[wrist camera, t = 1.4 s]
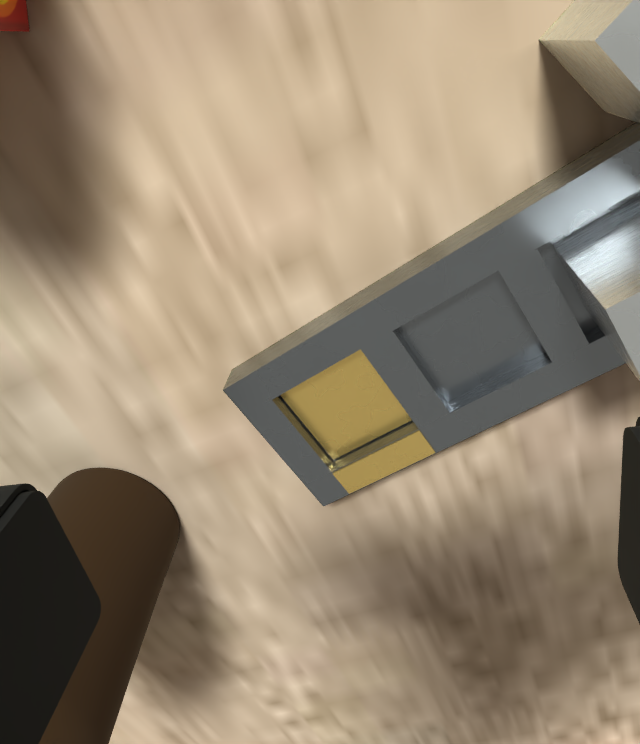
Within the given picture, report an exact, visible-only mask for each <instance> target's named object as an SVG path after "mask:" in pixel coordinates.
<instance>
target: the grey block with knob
mask: <svg viewBox="0 0 640 744" xmlns="http://www.w3.org/2000/svg"><path fill="white" fill-rule="evenodd" d="M553 247H554V248H555V250H556V252H557V254H558V256H559V258H560V260H561V262H562V263H563V265H564V267H565V269H566V271H567V273H568V275H569V277H570V278H571V280H572V282H573V284H574V286H575V288H576V290H577V292H578V293H579V295H580V297H581V299H582V301H583V303H584V305H585V307H586V308H587V310H588V312H589V314H590V316H591V317H592V319H593V320H594V321H595V323H596V324H597V325H598V327H599V328H600V329H601V331H602V332H603V333H604V335H605V336H606V337H607V339H608V340H609V341H610V343H611V344H612V345H613V347H614V348H615V349H616V351H617V352H618V353H619V355H620V356H621V357H622V359H623V360H624V361H625V363H626V364H627V365H628V367H629V368H630V369H631V371H632V372H633V373H634V375H635V376H636V377H637V379H638V380H639V381H640V196H638V197H637V198H635V199H633V200H631V201H629V202H628V203H626V204H624V205H622V206H621V207H619V208H617V209H615V210H614V211H612V212H610V213H608V214H607V215H605V216H603V217H601V218H600V219H598V220H596V221H594V222H592V223H591V224H589V225H587V226H585V227H584V228H582V229H580V230H578V231H577V232H575V233H573V234H571V235H570V236H568V237H566V238H564V239H563V240H561V241H559V242H557V243H555V244H554V245H553Z"/></svg>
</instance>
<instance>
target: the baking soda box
mask: <svg viewBox="0 0 640 744" xmlns="http://www.w3.org/2000/svg"><path fill="white" fill-rule="evenodd" d="M0 31H30V30H29V22H28V13H27V5H26V0H0Z"/></svg>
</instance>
